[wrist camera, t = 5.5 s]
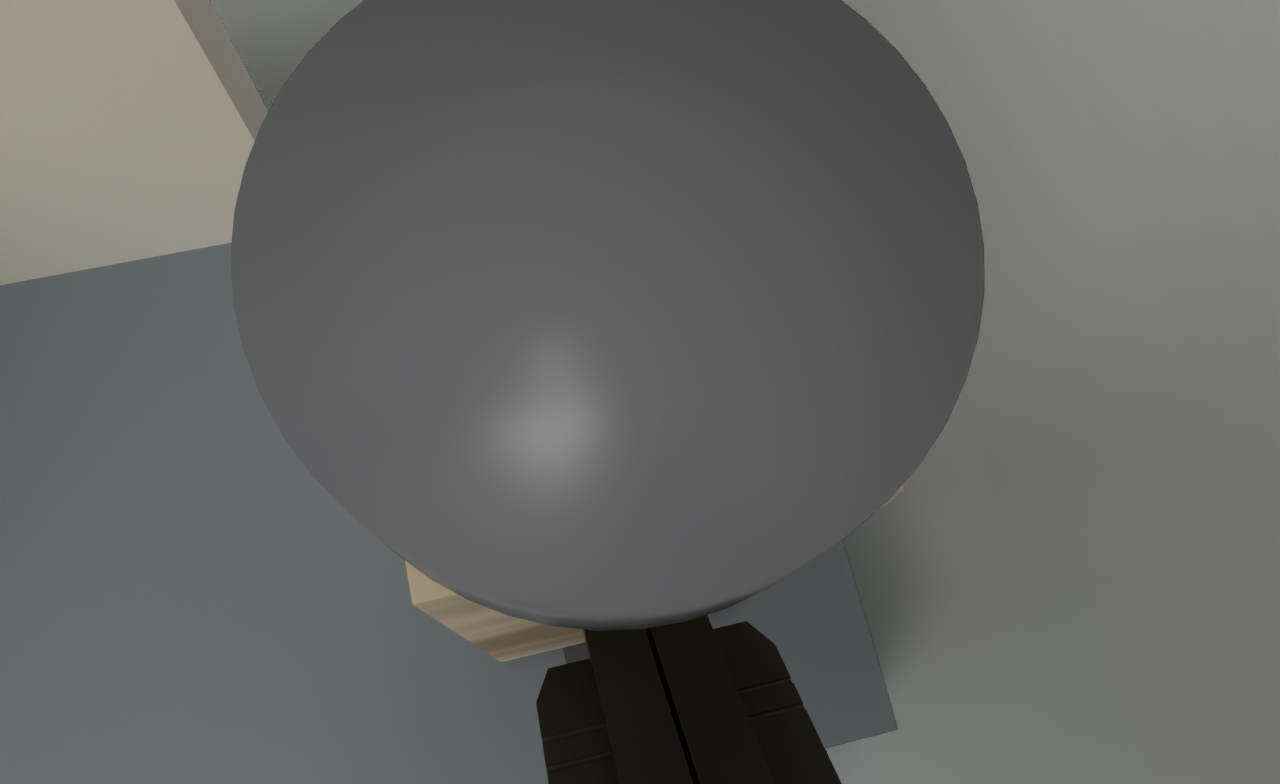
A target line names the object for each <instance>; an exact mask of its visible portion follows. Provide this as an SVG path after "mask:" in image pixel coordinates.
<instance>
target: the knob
mask: <svg viewBox="0 0 1280 784" xmlns="http://www.w3.org/2000/svg"><path fill="white" fill-rule="evenodd" d="M230 258H231V275H232V292H233V304H234V309H235V314H236V319H237V323H238V328H239V333H240V338H241V342H242V347H243V351H244V353H245V356H246V359H247V361H248V364H249V367H250V369H251V372H252V375H253V378H254V380H255V383H256V386H257V388H258V391H259V394H260V396H261V398H262V399H263V401H264V403H265V405H266V407H267V408H268V410H269V412H270V414H271V416H272V418H273V419H274V421H275V423H276V425H277V427H278V429H279V430H280V432H281V434H282V436H283V438H284V439H285V440H286V442H287V443H288V444H289V446H290V447H291V448H292V450H293V451H294V452H295V454H296V455H297V456H298V458H299V459H300V460H301V462H302V463H303V464H304V465H305V467H306V468H307V469H308V471H309V472H310V473H311V475H312V476H313V477H314V479H315V480H316V481H317V482H318V483H319V484H320V485H321V486H322V487H323V488H324V489H325V490H326V491H327V492H329V493H330V494H331V495H332V496H333V497H334V498H335V499H336V500H337V501H338V502H339V503H340V504H341V505H342V506H343V507H344V508H345V509H346V510H347V511H348V512H349V513H350V514H351V515H352V516H353V517H354V518H355V519H356V520H358V521H359V522H360V523H361V524H362V525H363V526H365V527H366V528H367V529H368V530H369V531H370V532H371V533H373V534H374V535H375V536H376V537H377V538H378V539H380V540H381V541H382V542H383V543H384V544H385V545H386V546H388V547H389V548H390V549H391V550H392V551H393V552H395V553H396V554H397V555H398V556H400V557H401V558H402V559H404V560H405V564H406V570H407V576H408V581H409V587H410V593H411V599H412V605H414V606H416V607H417V608H419V609H420V610H422V611H423V612H425V613H426V614H428V615H429V616H431V617H432V618H434V619H436V620H437V621H439V622H440V623H442V624H443V625H445V626H446V627H448V628H449V629H451V630H452V631H454V632H456V633H457V634H459V635H460V636H462V637H463V638H465V639H466V640H468V641H469V642H471V643H472V644H474V645H476V646H477V647H479V648H480V649H482V650H483V651H485V652H486V653H488V654H489V655H491V656H492V657H494V658H496V659H497V660H499V661H500V662H505V661H509V660H513V659H517V658H521V657H525V656H530V655H534V654H538V653H542V652H546V651H550V650H555V649H559V648H563V647H567V646H571V645H575V644H580V643H584V642H585V637H584V632H583V629H584V630H594V631H604V630H633V629H645V628H651V627H657V626H663V625H669V624H675V623H681V622H686V621H689V620H692V619H695V618H698V617H702V616H705V615H708V614H711V613H714V612H718V611H721V610H724V609H727V608H730V607H734V606H738V605H742V604H743V603H745V602H746V601H748V600H749V599H751V598H752V597H753V596H755V595H757V594H759V593H761V592H763V591H765V590H767V589H768V588H770V587H771V586H773V585H774V584H776V583H777V582H779V581H781V580H782V579H784V578H785V577H787V576H788V575H790V574H791V573H793V572H794V571H796V570H797V569H799V568H801V567H802V566H803V565H805V564H806V563H808V562H809V561H811V560H812V559H814V558H815V557H817V556H818V555H820V554H821V553H823V552H824V551H826V550H827V549H829V548H830V547H831V546H833V545H834V544H836V543H837V542H839V541H840V540H842V539H843V538H845V537H846V536H848V535H849V534H851V533H852V532H853V531H854V530H855V529H856V528H858V527H859V526H860V525H861V524H862V523H863V522H864V521H866V520H867V519H868V518H869V517H870V516H871V515H873V514H874V513H875V512H876V511H877V510H878V509H880V508H881V507H883V506H884V505H886V504H887V503H888V502H890V501H891V500H893V499H894V498H896V497H897V496H898V495H900V494H901V493H903V492H904V491H905V489H904V486H903V483H904V482H905V481H906V480H907V479H908V478H909V476H910V475H911V474H912V473H913V472H914V471H915V469H916V468H917V467H918V466H919V465H920V464H921V462H922V461H923V459H924V458H925V456H926V454H927V453H928V451H929V450H930V448H931V447H932V445H933V443H934V442H935V440H936V439H937V437H938V436H939V434H940V432H941V431H942V429H943V428H944V426H945V425H946V423H947V421H948V419H949V416H950V414H951V412H952V410H953V408H954V405H955V403H956V401H957V399H958V397H959V394H960V392H961V390H962V388H963V385H964V383H965V381H966V378H967V374H968V371H969V367H970V364H971V360H972V357H973V353H974V350H975V346H976V343H977V339H978V335H979V328H980V321H981V313H982V306H983V298H984V244H983V237H982V231H981V224H980V217H979V210H978V204H977V200H976V197H975V194H974V190H973V187H972V183H971V180H970V177H969V173H968V170H967V166H966V163H965V160H964V158H963V156H962V154H961V151H960V149H959V147H958V145H957V142H956V140H955V138H954V136H953V133H952V131H951V129H950V127H949V124H948V122H947V120H946V119H945V117H944V115H943V114H942V112H941V111H940V109H939V107H938V106H937V104H936V102H935V101H934V99H933V97H932V96H931V94H930V92H929V91H928V89H927V88H926V86H925V84H924V83H923V82H922V81H921V79H920V78H919V77H918V76H917V74H916V73H915V72H914V71H913V69H912V68H911V67H910V66H909V64H908V63H907V62H906V60H905V59H904V58H903V57H902V55H901V54H900V53H899V52H898V51H897V50H896V49H895V48H894V47H893V46H892V45H891V44H890V43H889V42H888V41H887V40H886V39H885V38H884V37H883V36H882V35H881V34H880V33H879V32H878V31H877V30H876V29H875V28H874V27H873V26H872V25H871V24H870V23H869V22H868V21H867V20H866V19H865V18H863V17H862V16H861V15H859V14H858V13H857V12H856V11H854V10H853V9H852V8H851V7H849V6H848V5H847V4H845V3H844V2H843V1H842V0H364V1H363V2H362V3H360V4H359V5H358V6H357V7H355V8H354V9H353V10H352V11H350V12H349V13H348V14H347V15H345V16H344V17H343V18H341V19H340V20H339V21H338V22H337V23H336V24H335V25H334V26H333V27H332V28H331V29H330V31H329V32H328V33H327V34H326V35H325V36H324V37H323V38H322V39H321V40H320V41H319V42H318V43H317V44H316V45H315V46H314V47H313V48H312V49H311V50H310V51H309V52H308V54H307V55H306V56H305V58H304V59H303V60H302V62H301V63H300V64H299V66H298V67H297V68H296V70H295V71H294V72H293V73H292V75H291V76H290V77H289V79H288V80H287V81H286V83H285V84H284V85H283V87H282V89H281V91H280V92H279V94H278V96H277V98H276V99H275V101H274V103H273V105H272V107H271V108H270V110H269V112H268V114H267V115H266V117H265V119H264V121H263V122H262V124H261V127H260V129H259V132H258V134H257V137H256V139H255V142H254V144H253V147H252V149H251V152H250V155H249V157H248V160H247V162H246V165H245V168H244V172H243V176H242V180H241V185H240V189H239V193H238V197H237V202H236V206H235V210H234V221H233V232H232V243H231V254H230Z"/></svg>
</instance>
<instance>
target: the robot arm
mask: <svg viewBox="0 0 1280 784" xmlns="http://www.w3.org/2000/svg"><path fill="white" fill-rule="evenodd" d="M583 632H584V637H585V642H586V648H587V653H588V658H589V659H585V660H581V661H577V662H573V663H568V664H564V665H560V666H556V667H552V668H548V670H547V673H546V676H545V678H544V681H543V684H542V687H541V690H540V693H539V696H538V698H537V701H536V706H537V712H538V719H539V725H540V732H541V738H542V743H543V751H544V757H545V764H546V769H547V777H548V783H549V784H841V782H840V780H839V778H838V776H837V773H836V771H835V769H834V767H833V765H832V763H831V761H830V759H829V757H828V754H827V752H826V750H825V748H824V746H823V744H822V742H821V740H820V738H819V735H818V733H817V731H816V729H815V727H814V725H813V723H812V721H811V719H810V716H809V714H808V712H807V710H806V709H804V706H803V702H802V700H801V697H800V695H799V693H798V691H797V689H796V687H795V685H794V683H792V681H791V676H790V674H789V672H788V670H787V668H786V666H785V664H784V662H783V659H782V657H781V655H780V653H779V651H778V649H777V647H776V645H775V644H774V643H773V642H772V641H770V640H769V639H768V638H767V637H765V636H764V635H763V634H762V633H761V632H759V631H758V630H757V629H756V628H754V627H753V626H752V625H751V624H750V623H748V622H747V621H745V622H740V623H736V624H732V625H728V626H723V627H719V628H715V629H713V628H712V625H711V623H710V620H709V618H708V615H705V616H702V617H698V618H695V619H692V620H689V621H686V622H681V623H675V624H669V625H663V626H657V627H651V628H645V629H633V630H604V631H594V630H584V629H583Z"/></svg>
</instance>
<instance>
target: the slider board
mask: <svg viewBox="0 0 1280 784" xmlns="http://www.w3.org/2000/svg"><path fill="white" fill-rule="evenodd" d="M267 114H268V111H267V109H266V107H265V105H264V103H263V101H262V99H261V97H260V95H259V93H258V91H257V89H256V87H255V86H254V84H253V82H252V80H251V78H250V76H249V74H248V72H247V70H246V68H245V66H244V64H243V63H242V61H241V59H240V57H239V55H238V53H237V51H236V49H235V47H234V45H233V43H232V41H231V40H230V38H229V36H228V34H227V32H226V30H225V28H224V26H223V24H222V22H221V20H220V18H219V17H218V15H217V13H216V11H215V9H214V7H213V5H212V3H211V1H210V0H0V784H549V783H548V777H547V769H546V764H545V757H544V751H543V743H542V738H541V732H540V725H539V719H538V712H537V706H536V701H537V698H538V696H539V693H540V690H541V687H542V684H543V681H544V678H545V676H546V673H547V670H548V668H552V667H556V666H560V665H564V664H568V663H573V662H577V661H581V660H585V659H589V658H588V653H587V648H586V642H584V643H580V644H575V645H571V646H567V647H563V648H559V649H555V650H550V651H546V652H542V653H538V654H534V655H530V656H525V657H521V658H517V659H513V660H509V661H505V662H500V661H499V660H497V659H496V658H494V657H492V656H491V655H489V654H488V653H486V652H485V651H483V650H482V649H480V648H479V647H477V646H476V645H474V644H472V643H471V642H469V641H468V640H466V639H465V638H463V637H462V636H460V635H459V634H457V633H456V632H454V631H452V630H451V629H449V628H448V627H446V626H445V625H443V624H442V623H440V622H439V621H437V620H436V619H434V618H432V617H431V616H429V615H428V614H426V613H425V612H423V611H422V610H420V609H419V608H417V607H416V606H414V605H412V599H411V593H410V587H409V581H408V576H407V570H406V564H405V560H404V559H402V558H401V557H400V556H398V555H397V554H396V553H395V552H393V551H392V550H391V549H390V548H389V547H388V546H386V545H385V544H384V543H383V542H382V541H381V540H380V539H378V538H377V537H376V536H375V535H374V534H373V533H371V532H370V531H369V530H368V529H367V528H366V527H365V526H363V525H362V524H361V523H360V522H359V521H358V520H356V519H355V518H354V517H353V516H352V515H351V514H350V513H349V512H348V511H347V510H346V509H345V508H344V507H343V506H342V505H341V504H340V503H339V502H338V501H337V500H336V499H335V498H334V497H333V496H332V495H331V494H330V493H329V492H327V491H326V490H325V489H324V488H323V487H322V486H321V485H320V484H319V483H318V482H317V481H316V480H315V479H314V477H313V476H312V475H311V473H310V472H309V471H308V469H307V468H306V467H305V465H304V464H303V463H302V462H301V460H300V459H299V458H298V456H297V455H296V454H295V452H294V451H293V450H292V448H291V447H290V446H289V444H288V443H287V442H286V440H285V439H284V438H283V436H282V434H281V432H280V430H279V429H278V427H277V425H276V423H275V421H274V419H273V418H272V416H271V414H270V412H269V410H268V408H267V407H266V405H265V403H264V401H263V399H262V398H261V396H260V394H259V391H258V388H257V386H256V383H255V380H254V378H253V375H252V372H251V369H250V367H249V364H248V361H247V359H246V356H245V353H244V351H243V347H242V342H241V338H240V333H239V328H238V323H237V319H236V314H235V309H234V304H233V292H232V275H231V258H230V254H231V243H232V232H233V221H234V210H235V206H236V202H237V197H238V193H239V189H240V185H241V180H242V176H243V172H244V168H245V165H246V162H247V160H248V157H249V155H250V152H251V149H252V147H253V144H254V142H255V139H256V137H257V134H258V132H259V129H260V127H261V124H262V122H263V121H264V119H265V117H266V115H267ZM708 618H709V620H710V623H711V625H712V628H713V629H715V628H719V627H723V626H728V625H732V624H736V623H740V622H745V621H747V622H748V623H750V624H751V625H752V626H753V627H754V628H756V629H757V630H758V631H759V632H761V633H762V634H763V635H764V636H765V637H767V638H768V639H769V640H770V641H772V642H773V643H774V644H775V645H776V647H777V649H778V651H779V653H780V655H781V657H782V659H783V662H784V664H785V666H786V668H787V670H788V672H789V674H790V676H791V681H792V683H794V685H795V687H796V689H797V691H798V693H799V695H800V697H801V700H802V702H803V706H804V709H806V710H807V712H808V714H809V716H810V719H811V721H812V723H813V725H814V727H815V729H816V731H817V733H818V735H819V738H820V740H821V742H822V744H823V746H824V748H829V747H832V746H836V745H840V744H844V743H848V742H852V741H856V740H859V739H863V738H867V737H871V736H875V735H879V734H883V733H886V732H890V731H894V730H898V726H897V723H896V720H895V716H894V713H893V709H892V706H891V703H890V699H889V696H888V692H887V689H886V686H885V682H884V679H883V675H882V672H881V669H880V665H879V662H878V658H877V655H876V652H875V648H874V645H873V641H872V638H871V635H870V631H869V628H868V624H867V621H866V618H865V614H864V611H863V607H862V604H861V601H860V597H859V594H858V591H857V587H856V584H855V580H854V577H853V574H852V570H851V567H850V563H849V560H848V557H847V553H846V550H845V546H844V543H843V540H840V541H839V542H837V543H836V544H834V545H833V546H831V547H830V548H829V549H827V550H826V551H824V552H823V553H821V554H820V555H818V556H817V557H815V558H814V559H812V560H811V561H809V562H808V563H806V564H805V565H803V566H802V567H801V568H799V569H797V570H796V571H794V572H793V573H791V574H790V575H788V576H787V577H785V578H784V579H782V580H781V581H779V582H777V583H776V584H774V585H773V586H771V587H770V588H768V589H767V590H765V591H763V592H761V593H759V594H757V595H755V596H753V597H752V598H751V599H749V600H748V601H746V602H745V603H743V604H742V605H738V606H734V607H730V608H727V609H724V610H721V611H718V612H714V613H711V614H708Z"/></svg>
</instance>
